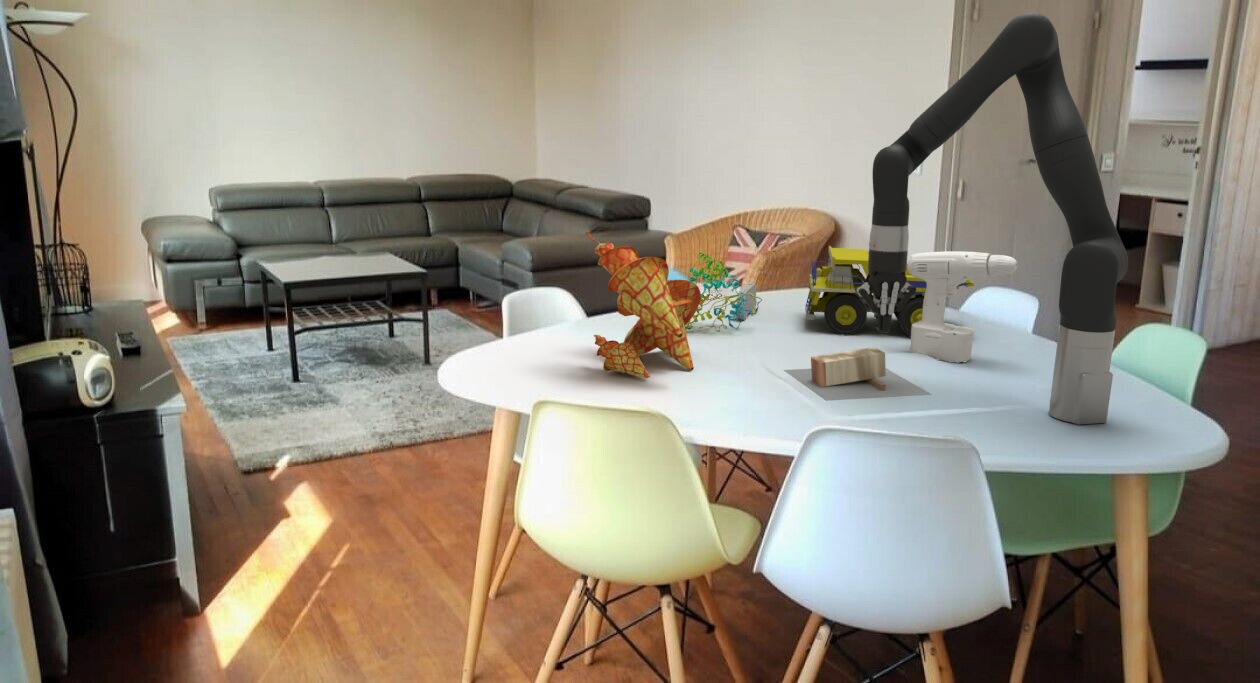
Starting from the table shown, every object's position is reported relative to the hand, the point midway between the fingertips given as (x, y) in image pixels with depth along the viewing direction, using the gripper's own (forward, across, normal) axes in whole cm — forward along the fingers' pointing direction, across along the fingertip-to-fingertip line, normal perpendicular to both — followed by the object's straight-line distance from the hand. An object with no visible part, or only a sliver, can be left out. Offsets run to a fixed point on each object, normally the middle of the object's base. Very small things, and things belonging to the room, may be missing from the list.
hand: (882, 332), depth 191 cm
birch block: (+6, 0, +1) cm, 6 cm away
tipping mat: (+11, -5, +1) cm, 13 cm away
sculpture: (+11, -43, +25) cm, 51 cm away
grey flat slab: (+11, -3, +71) cm, 72 cm away
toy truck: (+12, +26, +49) cm, 57 cm away
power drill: (+12, +27, +17) cm, 34 cm away
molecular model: (+11, -18, +56) cm, 60 cm away
